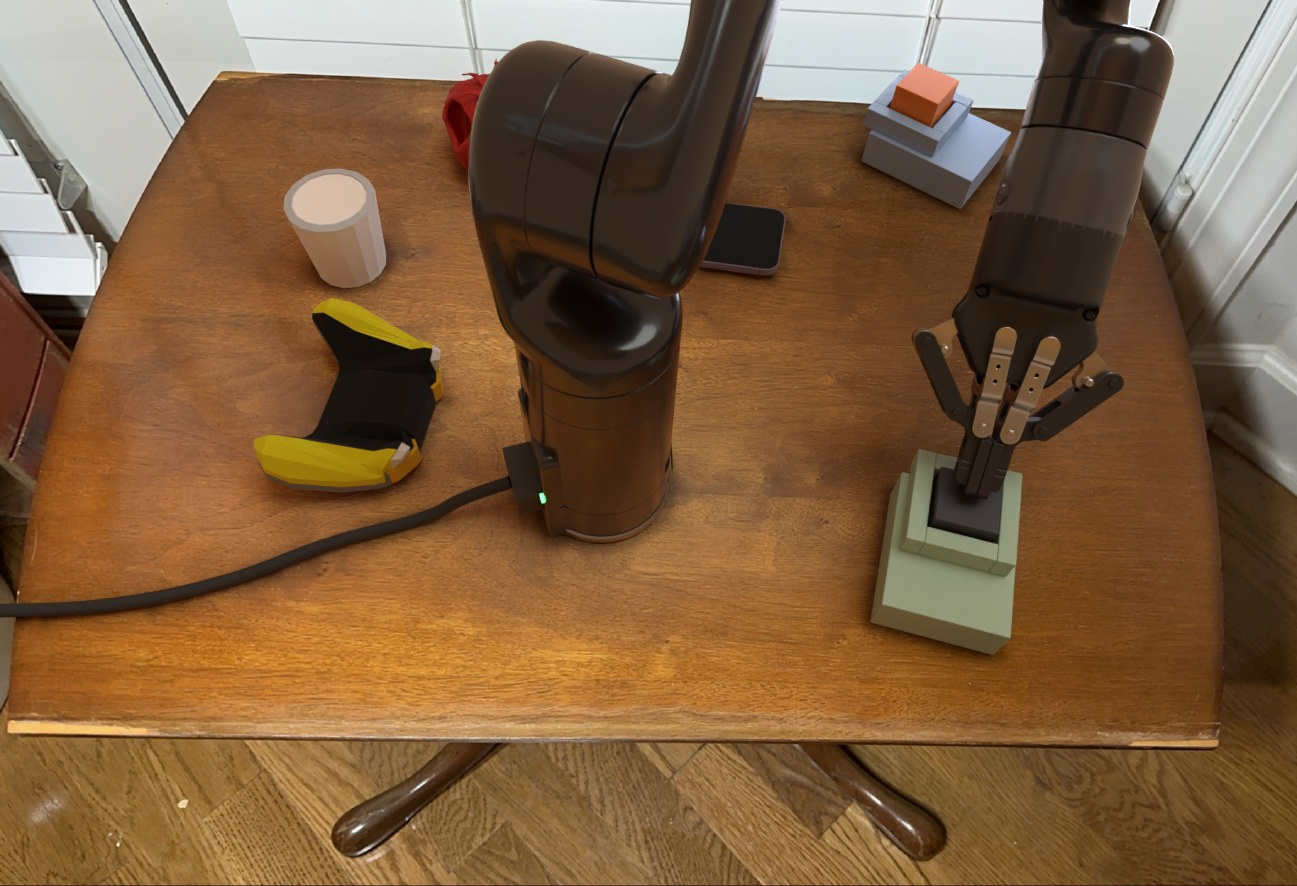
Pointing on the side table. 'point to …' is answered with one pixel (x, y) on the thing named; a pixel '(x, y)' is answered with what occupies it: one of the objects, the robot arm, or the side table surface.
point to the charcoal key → (963, 509)
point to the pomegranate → (462, 113)
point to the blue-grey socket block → (933, 147)
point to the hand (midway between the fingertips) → (972, 493)
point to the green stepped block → (946, 566)
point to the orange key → (924, 94)
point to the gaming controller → (361, 408)
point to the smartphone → (747, 240)
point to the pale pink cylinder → (338, 225)
